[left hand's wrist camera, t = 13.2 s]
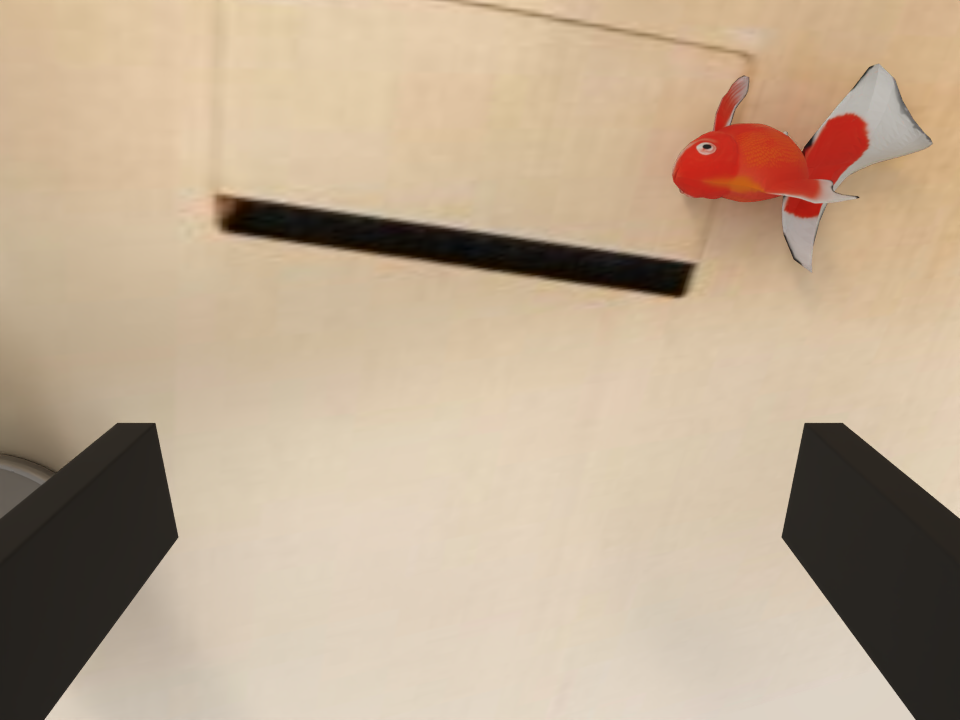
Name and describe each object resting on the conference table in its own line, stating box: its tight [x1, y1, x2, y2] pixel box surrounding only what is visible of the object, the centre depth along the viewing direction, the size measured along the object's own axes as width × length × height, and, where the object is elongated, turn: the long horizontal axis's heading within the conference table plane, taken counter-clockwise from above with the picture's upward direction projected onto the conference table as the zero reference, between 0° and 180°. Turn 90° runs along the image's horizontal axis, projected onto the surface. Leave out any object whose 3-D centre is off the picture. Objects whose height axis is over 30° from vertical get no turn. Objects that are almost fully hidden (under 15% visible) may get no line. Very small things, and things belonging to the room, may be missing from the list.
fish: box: [672, 64, 933, 272], centre depth 36 cm, size 11×16×10 cm
